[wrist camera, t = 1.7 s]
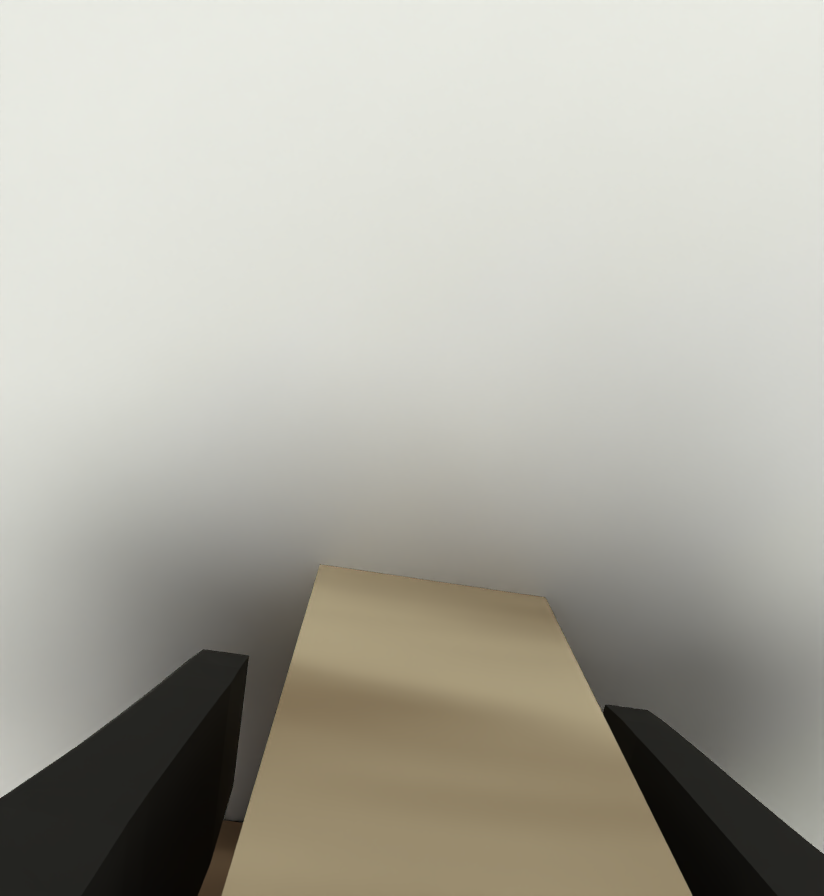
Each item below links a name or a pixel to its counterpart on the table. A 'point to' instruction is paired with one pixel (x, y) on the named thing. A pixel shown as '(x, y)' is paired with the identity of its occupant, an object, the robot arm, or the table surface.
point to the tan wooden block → (442, 757)
